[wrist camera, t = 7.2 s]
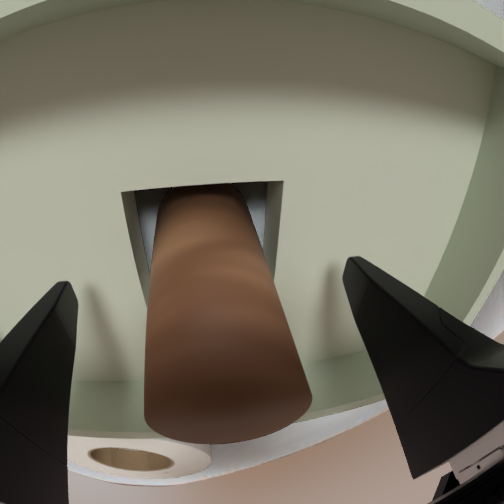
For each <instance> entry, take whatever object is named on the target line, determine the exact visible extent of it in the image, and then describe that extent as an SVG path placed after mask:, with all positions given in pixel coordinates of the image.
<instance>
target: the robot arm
mask: <svg viewBox="0 0 504 504" xmlns="http://www.w3.org/2000/svg"><path fill="white" fill-rule="evenodd" d="M342 281H343V285H344V288H345V291H346V294H347V298H348V301H349V304H350V308H351V311H352V314H353V317H354V320H355V323H356V326H357V328H358V330H359V333H360V335H361V338H362V340H363V342H364V345H365V347H366V350H367V352H368V355H369V357H370V360H371V362H372V365H373V367H374V370H375V373H376V375H377V378H378V380H379V383H380V386H381V388H382V391H383V393H384V396H385V399H386V402H387V404H388V407H389V410H390V412H391V415H392V418H393V421H394V424H395V426H396V430H397V433H398V435H399V439H400V441H401V444H402V447H403V450H404V453H405V456H406V459H407V463H408V465H409V469H410V472H411V475H412V477H413V479H416V478H418V477H420V476H422V475H424V474H426V473H428V472H430V471H432V470H434V469H436V468H438V467H440V466H441V465H443V464H445V463H447V462H449V463H450V465H451V468H452V470H453V471H451V472H450V473H448V474H446V475H444V476H443V477H441V480H440V482H439V485H438V487H437V490H436V492H435V495H434V497H433V500H432V502H430V503H428V504H504V345H503V344H500V343H498V342H496V341H494V340H492V339H491V338H489V337H487V336H486V335H484V334H482V333H481V332H479V331H477V330H475V329H474V328H472V327H470V326H469V325H467V324H465V323H464V322H462V321H460V320H459V319H457V318H456V317H454V316H453V315H451V314H449V313H448V312H446V311H445V310H444V309H442V308H441V307H438V306H437V305H436V304H434V303H433V302H431V301H430V300H428V299H427V298H425V297H424V296H422V295H421V294H419V293H418V292H416V291H415V290H413V289H412V288H410V287H409V286H407V285H405V284H404V283H402V282H401V281H399V280H398V279H396V278H394V277H393V276H391V275H390V274H388V273H387V272H385V271H383V270H382V269H380V268H379V267H377V266H375V265H374V264H372V263H371V262H369V261H367V260H366V259H364V258H362V257H361V256H352V257H348V259H347V261H346V265H345V268H344V272H343V276H342ZM78 306H79V305H78V299H77V297H76V294H75V292H74V290H73V287H72V285H71V283H70V282H69V281H59V282H57V283H56V284H55V285H54V286H53V287H52V288H51V289H50V290H49V291H48V292H47V293H46V294H45V295H44V296H43V297H42V298H41V299H40V300H39V301H38V302H37V303H36V304H35V305H34V306H33V307H32V308H31V309H30V310H29V311H28V312H27V313H26V314H25V315H24V316H23V318H22V319H21V320H20V321H19V322H18V323H17V324H16V325H15V326H14V327H13V328H12V330H11V331H10V332H9V333H8V334H7V335H6V336H5V337H4V339H3V340H2V341H1V342H0V504H69V500H68V467H67V447H68V421H69V406H70V394H71V384H72V375H73V366H74V359H75V351H76V338H77V320H78Z"/></svg>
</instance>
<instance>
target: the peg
mask: <svg viewBox="0 0 504 504" xmlns="http://www.w3.org/2000/svg"><path fill="white" fill-rule="evenodd" d="M311 403H312V393H311V390H310V387H309V384H308V381H307V378H306V375H305V372H304V369H303V366H302V363H301V360H300V357H299V354H298V352H297V349H296V346H295V343H294V340H293V337H292V334H291V331H290V328H289V325H288V322H287V319H286V316H285V313H284V310H283V307H282V304H281V302H280V299H279V296H278V293H277V290H276V287H275V284H274V281H273V278H272V275H271V273H270V270H269V267H268V264H267V261H266V258H265V255H264V252H263V249H262V247H261V244H260V241H259V238H258V235H257V232H256V229H255V226H254V224H253V221H252V218H251V215H250V212H249V209H248V207H247V204H246V201H245V199H244V197H243V196H242V194H241V193H240V192H239V191H238V190H237V189H236V188H235V187H233V186H232V185H231V184H229V183H218V184H202V185H189V186H176V187H174V188H172V189H171V190H170V191H169V192H168V193H167V194H166V195H165V197H164V198H163V200H162V201H161V204H160V206H159V209H158V214H157V221H156V228H155V236H154V244H153V253H152V262H151V272H150V283H149V294H148V307H147V322H146V340H145V366H144V419H145V421H146V424H147V425H148V426H149V427H150V428H151V429H152V430H153V431H155V432H156V433H158V434H160V435H162V436H164V437H167V438H170V439H173V440H177V441H181V442H186V443H194V444H227V443H235V442H242V441H247V440H251V439H255V438H259V437H262V436H266V435H268V434H271V433H274V432H276V431H278V430H281V429H283V428H285V427H287V426H289V425H290V424H292V423H293V422H295V421H296V420H298V419H299V418H300V417H301V416H303V415H304V414H305V413H306V411H307V410H308V409H309V407H310V405H311Z"/></svg>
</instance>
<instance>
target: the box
mask: <svg viewBox="0 0 504 504" xmlns="http://www.w3.org/2000/svg"><path fill="white" fill-rule="evenodd" d="M256 181H268V186H267V202H266V217H265V232H264V247H263V252H264V255H265V258H266V261H267V264H268V267H269V270H270V273H271V275H272V278H273V281H274V284H275V287H276V290H277V293H278V296H279V299H280V302H281V304H282V307H283V310H284V313H285V316H286V319H287V322H288V325H289V328H290V331H291V334H292V337H293V340H294V343H295V346H296V349H297V352H298V354H299V357H300V360H301V363H302V366H303V369H304V372H305V375H306V378H307V381H308V384H309V387H310V390H311V393H312V403H311V405H310V407H309V409H308V410H307V411H306V413H305V414H304V415H303V416H301V417H300V418H299V419H298V420H296V421H295V422H293V423H297V422H301V421H306V420H311V419H315V418H320V417H324V416H328V415H332V414H336V413H340V412H344V411H347V410H351V409H355V408H358V407H362V406H365V405H368V404H372V403H375V402H378V401H381V400H384V399H385V396H384V393H383V391H382V388H381V386H380V383H379V380H378V378H377V375H376V373H375V370H374V367H373V365H372V362H371V360H370V357H369V355H368V352H367V350H366V347H365V345H364V342H363V340H362V338H361V335H360V333H359V330H358V328H357V326H356V323H355V320H354V317H353V314H352V311H351V308H350V304H349V301H348V298H347V294H346V291H345V288H344V285H343V281H342V276H343V272H344V268H345V265H346V261H347V259H348V257H352V256H361V257H362V258H364V259H366V260H367V261H369V262H371V263H372V264H374V265H375V266H377V267H379V268H380V269H382V270H383V271H385V272H387V273H388V274H390V275H391V276H393V277H394V278H396V279H398V280H399V281H401V282H402V283H404V284H405V285H407V286H409V287H410V288H412V289H413V290H415V291H416V292H418V293H419V294H421V295H422V296H424V297H425V298H427V299H428V300H430V301H431V302H433V303H434V304H436V305H437V306H438V307H441V308H442V309H444V310H445V311H446V312H448V313H449V314H451V315H453V316H454V317H456V318H457V319H459V320H460V321H462V322H464V323H465V324H467V325H469V326H470V325H471V324H472V322H473V321H474V319H475V317H476V316H477V314H478V313H479V311H480V310H481V308H482V306H483V305H484V303H485V301H486V300H487V298H488V296H489V295H490V293H491V291H492V290H493V288H494V286H495V284H496V283H497V281H498V279H499V277H500V275H501V273H502V272H503V270H504V19H502V18H501V17H499V16H498V15H496V14H495V13H493V12H492V11H490V10H489V9H487V8H485V7H484V6H482V5H481V4H479V3H477V2H476V1H474V0H0V342H1V341H2V340H3V339H4V337H5V336H6V335H7V334H8V333H9V332H10V331H11V330H12V328H13V327H14V326H15V325H16V324H17V323H18V322H19V321H20V320H21V319H22V318H23V316H24V315H25V314H26V313H27V312H28V311H29V310H30V309H31V308H32V307H33V306H34V305H35V304H36V303H37V302H38V301H39V300H40V299H41V298H42V297H43V296H44V295H45V294H46V293H47V292H48V291H49V290H50V289H51V288H52V287H53V286H54V285H55V284H56V283H57V282H59V281H69V282H70V283H71V285H72V287H73V290H74V292H75V294H76V297H77V299H78V305H79V306H78V320H77V338H76V351H75V359H74V366H73V375H72V384H71V394H70V406H69V421H68V435H69V436H80V437H95V438H119V439H156V438H167V437H164V436H162V435H160V434H158V433H156V432H155V431H153V430H152V429H151V428H150V427H149V426H148V425H147V424H146V421H145V419H144V366H145V340H146V322H147V307H148V294H149V283H150V274H149V269H148V265H147V260H146V255H145V250H144V245H143V240H142V235H141V229H140V224H139V218H138V212H137V206H136V200H135V194H134V190H143V189H154V188H165V187H176V186H189V185H202V184H218V183H235V182H256Z"/></svg>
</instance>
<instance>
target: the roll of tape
mask: <svg viewBox="0 0 504 504" xmlns="http://www.w3.org/2000/svg"><path fill="white" fill-rule="evenodd" d="M119 448H123V449H119ZM124 449H133V450H140V451H132V450H124ZM67 460H69V461H71V462H73V463H75V464H77V465H80V466H82V467H85V468H88V469H90V470H94V471H97V472H101V473H105V474H109V475H114V476H120V477H128V478H139V479H166V478H177V477H181V476H186V475H191V474H194V473H197V472H200V471H202V470H204V469H206V468H207V467H208V466H210V464H211V462H212V458H211V450H210V444H194V443H186V442H181V441H177V440H173V439H170V438H156V439H119V438H95V437H80V436H69V435H68V447H67Z"/></svg>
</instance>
